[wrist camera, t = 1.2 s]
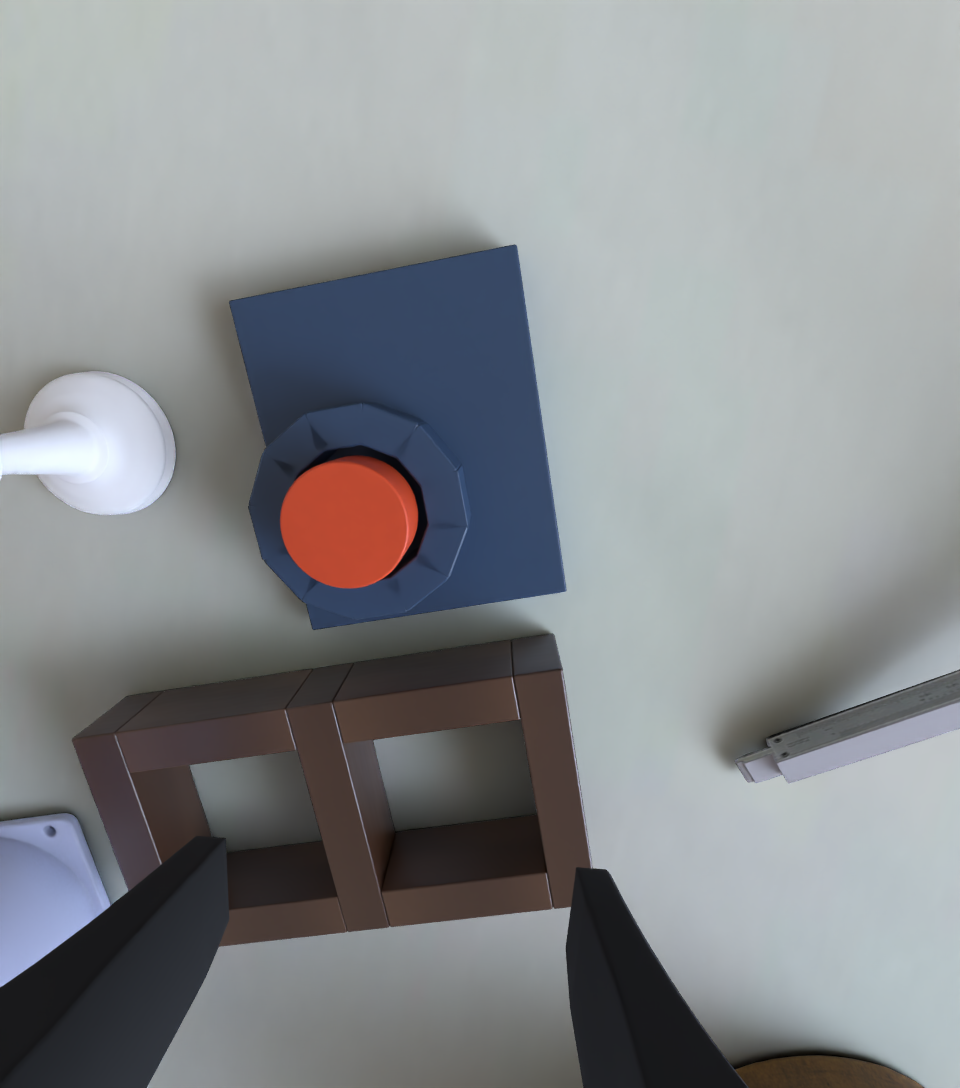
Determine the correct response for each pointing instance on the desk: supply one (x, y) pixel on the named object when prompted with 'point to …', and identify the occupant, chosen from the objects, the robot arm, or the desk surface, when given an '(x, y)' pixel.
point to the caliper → (858, 732)
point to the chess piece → (94, 443)
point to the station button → (349, 521)
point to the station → (410, 427)
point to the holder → (351, 789)
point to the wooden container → (821, 1074)
